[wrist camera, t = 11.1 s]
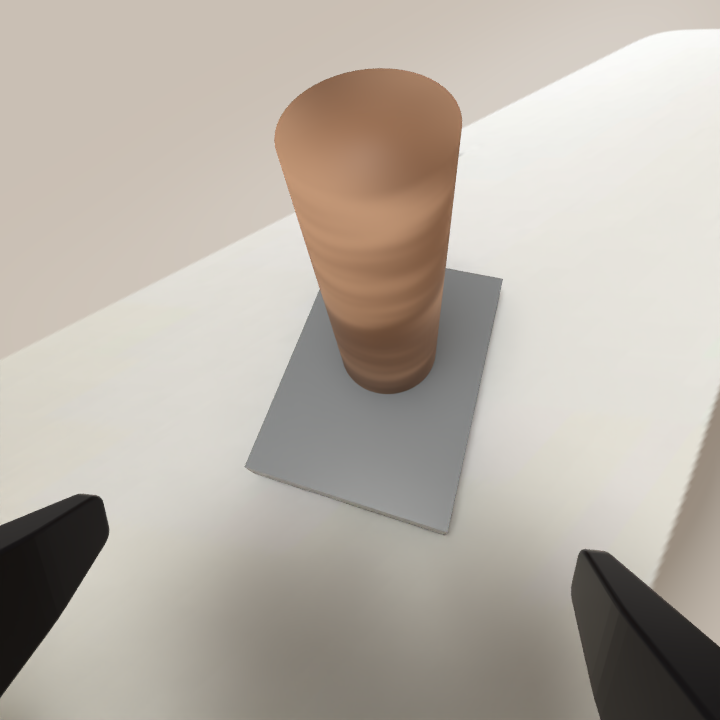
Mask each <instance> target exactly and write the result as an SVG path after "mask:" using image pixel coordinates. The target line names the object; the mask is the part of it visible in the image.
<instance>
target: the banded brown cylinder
mask: <svg viewBox="0 0 720 720" xmlns="http://www.w3.org/2000/svg"><path fill="white" fill-rule="evenodd" d="M461 129H462V116H461V111H460V108H459V106H458V104H457V102H456V100H455V99H454V97H453V96H452V95H451V94H450V93H449V92H448V91H447V90H446V89H445V88H444V87H443V86H441V85H440V84H439V83H437V82H435V81H433V80H432V79H430V78H427V77H425V76H422V75H420V74H416V73H413V72H409V71H404V70H398V69H382V68H380V69H379V68H378V69H365V70H357V71H352V72H347V73H344V74H340V75H337V76H334V77H331V78H329V79H326V80H324V81H322V82H320V83H318V84H316V85H314V86H312V87H311V88H309V89H307V90H306V91H304V92H303V93H302V94H300V95H299V96H298V97H297V98H296V99H294V100H293V101H292V102H291V104H290V105H289V106H288V107H287V108H286V109H285V111H284V112H283V114H282V116H281V117H280V119H279V122H278V124H277V127H276V130H275V140H274V141H275V148H276V151H277V155H278V158H279V161H280V164H281V167H282V171H283V174H284V177H285V180H286V183H287V186H288V189H289V192H290V196H291V199H292V202H293V205H294V209H295V212H296V215H297V218H298V221H299V224H300V228H301V231H302V234H303V237H304V240H305V243H306V246H307V250H308V253H309V256H310V259H311V262H312V265H313V269H314V272H315V275H316V278H317V281H318V284H319V288H320V291H321V294H322V297H323V300H324V303H325V307H326V310H327V313H328V316H329V319H330V322H331V326H332V329H333V332H334V335H335V338H336V341H337V345H338V348H339V351H340V354H341V357H342V360H343V364H344V367H345V369H346V371H347V373H348V374H349V376H350V377H351V378H352V379H353V380H354V382H356V383H357V384H358V385H359V386H361V387H363V388H364V389H367V390H369V391H372V392H375V393H380V394H396V393H400V392H404V391H407V390H409V389H411V388H413V387H415V386H416V385H418V384H419V383H420V382H422V381H423V380H424V379H425V377H426V376H427V375H428V374H429V372H430V371H431V369H432V367H433V364H434V361H435V355H436V346H437V338H438V329H439V320H440V312H441V303H442V294H443V286H444V277H445V268H446V260H447V251H448V242H449V234H450V225H451V216H452V208H453V199H454V190H455V182H456V173H457V164H458V156H459V147H460V138H461Z"/></svg>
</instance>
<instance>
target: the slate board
mask: <svg viewBox="0 0 720 720" xmlns="http://www.w3.org/2000/svg"><path fill="white" fill-rule="evenodd" d="M502 281H503V279H500V278H495V277H490V276H484V275H479V274H474V273H469V272H463V271H458V270H453V269H447V268H445V277H444V286H443V294H442V303H441V312H440V320H439V329H438V338H437V346H436V355H435V361H434V364H433V367H432V369H431V371H430V372H429V374H428V375H427V376H426V377H425V379H424V380H423V381H422V382H420V383H419V384H418V385H416V386H415V387H413V388H411V389H409V390H407V391H404V392H400V393H396V394H380V393H375V392H372V391H369V390H367V389H364V388H363V387H361V386H359V385H358V384H357V383H356V382H354V380H353V379H352V378H351V377H350V376H349V374H348V373H347V371H346V369H345V367H344V364H343V360H342V357H341V354H340V351H339V348H338V345H337V341H336V338H335V335H334V332H333V329H332V326H331V322H330V319H329V316H328V313H327V310H326V307H325V303H324V300H323V297H322V294H321V291H320V290H319V292H318V295H317V297H316V300H315V302H314V304H313V307H312V309H311V311H310V314H309V316H308V318H307V321H306V323H305V325H304V328H303V330H302V333H301V335H300V337H299V340H298V342H297V344H296V347H295V349H294V351H293V354H292V356H291V359H290V361H289V363H288V366H287V368H286V370H285V373H284V375H283V377H282V380H281V382H280V384H279V387H278V389H277V392H276V394H275V396H274V399H273V401H272V403H271V406H270V408H269V410H268V413H267V415H266V418H265V420H264V422H263V425H262V427H261V429H260V432H259V434H258V436H257V439H256V441H255V443H254V446H253V448H252V451H251V453H250V455H249V458H248V460H247V462H246V465H245V468H247V469H248V470H250V471H252V472H253V473H255V474H258V475H261V476H264V477H267V478H270V479H274V480H277V481H280V482H283V483H286V484H289V485H292V486H295V487H298V488H301V489H304V490H307V491H311V492H314V493H317V494H320V495H323V496H326V497H329V498H332V499H335V500H338V501H341V502H344V503H348V504H351V505H354V506H357V507H360V508H363V509H366V510H369V511H372V512H375V513H378V514H381V515H384V516H388V517H391V518H394V519H397V520H400V521H403V522H406V523H409V524H412V525H415V526H418V527H421V528H425V529H428V530H431V531H434V532H437V533H440V534H443V535H445V534H447V533H448V528H449V524H450V519H451V515H452V510H453V505H454V501H455V496H456V492H457V487H458V482H459V478H460V473H461V469H462V464H463V459H464V455H465V450H466V446H467V441H468V437H469V432H470V427H471V423H472V418H473V414H474V409H475V404H476V400H477V395H478V391H479V386H480V381H481V377H482V372H483V368H484V363H485V359H486V354H487V349H488V345H489V340H490V336H491V331H492V326H493V322H494V317H495V313H496V308H497V303H498V299H499V294H500V290H501V285H502Z"/></svg>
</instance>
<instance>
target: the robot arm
mask: <svg viewBox="0 0 720 720" xmlns="http://www.w3.org/2000/svg"><path fill="white" fill-rule="evenodd" d="M108 536H109V525H108V521H107V516H106V512H105V507H104V503H103V500H102V499H101V498H100V497H99V496H97V495H89V494H77V495H74V496H71V497H69V498H67V499H64V500H62V501H59V502H57V503H54V504H52V505H49V506H47V507H45V508H42V509H40V510H37V511H35V512H32V513H30V514H27V515H25V516H23V517H20V518H18V519H15V520H13V521H10V522H8V523H6V524H3V525H1V526H0V698H1V696H2V695H3V694H4V692H5V691H6V690H7V688H8V687H9V685H10V684H11V683H12V681H13V680H14V679H15V677H16V676H17V675H18V673H19V672H20V671H21V669H22V668H23V666H24V665H25V664H26V662H27V661H28V660H29V658H30V657H31V656H32V654H33V653H34V652H35V650H36V649H37V647H38V646H39V645H40V643H41V642H42V641H43V639H44V638H45V637H46V635H47V634H48V632H49V631H50V630H51V628H52V627H53V625H54V624H55V623H56V621H57V620H58V618H59V617H60V615H61V614H62V612H63V611H64V609H65V608H66V606H67V605H68V603H69V601H70V600H71V598H72V597H73V595H74V593H75V592H76V590H77V588H78V587H79V585H80V584H81V582H82V580H83V579H84V577H85V576H86V574H87V572H88V571H89V569H90V567H91V566H92V564H93V563H94V561H95V559H96V558H97V556H98V554H99V553H100V551H101V550H102V548H103V546H104V545H105V543H106V541H107V539H108ZM571 596H572V603H573V607H574V611H575V616H576V620H577V625H578V629H579V634H580V638H581V643H582V647H583V652H584V656H585V661H586V665H587V670H588V674H589V679H590V683H591V687H592V691H593V695H594V699H595V703H596V706H597V709H598V713H599V716H600V719H601V720H720V647H719V646H718V645H717V644H716V643H714V642H713V641H712V640H711V639H710V638H709V637H707V636H706V635H705V634H704V633H702V632H701V631H700V630H699V629H698V628H697V627H696V626H694V625H693V624H692V623H691V622H689V621H688V620H687V619H686V618H685V617H684V616H683V615H682V614H680V613H679V612H678V611H677V610H676V609H674V608H673V607H672V606H671V605H670V604H669V603H667V602H666V601H665V600H664V599H663V598H662V597H660V596H659V595H658V594H657V593H656V592H654V591H653V590H652V589H651V588H650V587H649V586H647V585H646V584H645V583H644V582H643V581H642V580H640V579H639V578H638V577H637V576H636V575H635V574H633V573H632V572H631V571H630V570H629V569H627V568H626V567H625V566H624V565H623V564H622V563H620V562H619V561H618V560H617V559H616V558H615V557H613V556H612V555H611V554H609V553H608V552H605V551H599V550H590V549H583V550H581V551H580V553H579V555H578V558H577V563H576V567H575V572H574V576H573V581H572V585H571Z"/></svg>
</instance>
